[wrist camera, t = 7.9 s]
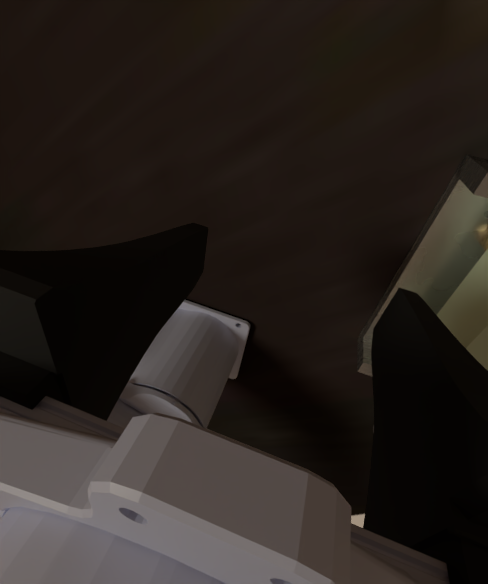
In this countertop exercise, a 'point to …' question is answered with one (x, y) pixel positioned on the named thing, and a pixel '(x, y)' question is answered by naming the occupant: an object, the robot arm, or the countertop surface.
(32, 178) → the countertop surface
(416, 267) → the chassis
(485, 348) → the board
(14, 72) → the countertop surface
